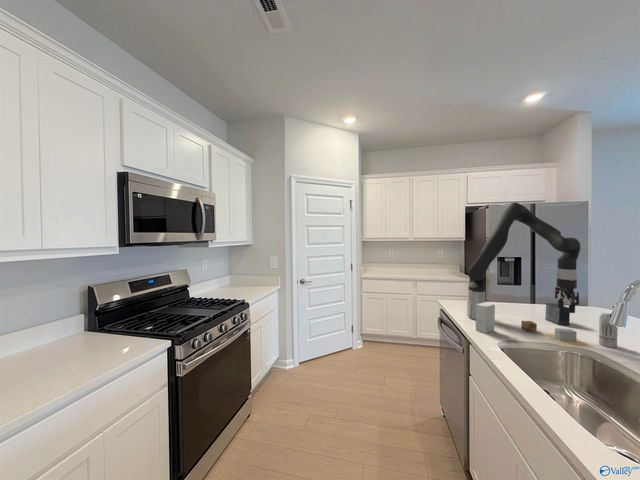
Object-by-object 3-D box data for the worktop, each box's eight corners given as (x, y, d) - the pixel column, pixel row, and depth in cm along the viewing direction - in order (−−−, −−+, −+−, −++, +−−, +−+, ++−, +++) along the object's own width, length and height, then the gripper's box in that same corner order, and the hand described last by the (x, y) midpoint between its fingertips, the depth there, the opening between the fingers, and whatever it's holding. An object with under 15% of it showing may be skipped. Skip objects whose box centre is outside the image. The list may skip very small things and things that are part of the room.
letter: (560, 346, 132) (560, 345, 132) (539, 333, 149) (539, 332, 149) (595, 349, 129) (595, 348, 129) (569, 335, 146) (569, 334, 146)
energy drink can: (597, 345, 132) (598, 314, 132) (600, 342, 136) (601, 312, 135) (615, 350, 128) (616, 317, 127) (618, 346, 131) (619, 315, 131)
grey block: (559, 340, 138) (559, 330, 138) (554, 337, 142) (554, 328, 141) (576, 342, 136) (576, 331, 136) (570, 338, 140) (571, 329, 140)
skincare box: (484, 327, 158) (484, 301, 157) (495, 331, 152) (495, 304, 152) (474, 330, 154) (475, 303, 154) (485, 333, 149) (485, 306, 148)
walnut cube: (525, 332, 150) (526, 323, 150) (521, 329, 155) (521, 320, 155) (536, 333, 149) (536, 324, 149) (531, 330, 154) (531, 321, 154)
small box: (570, 325, 161) (571, 307, 161) (559, 325, 161) (559, 307, 161) (555, 319, 172) (555, 302, 171) (544, 319, 172) (545, 302, 171)
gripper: (549, 275, 146) (549, 306, 146) (567, 280, 132) (566, 314, 132) (566, 275, 144) (565, 307, 145) (585, 280, 130) (585, 315, 131)
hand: (566, 310), depth 138 cm, fingers open, 8 cm apart
